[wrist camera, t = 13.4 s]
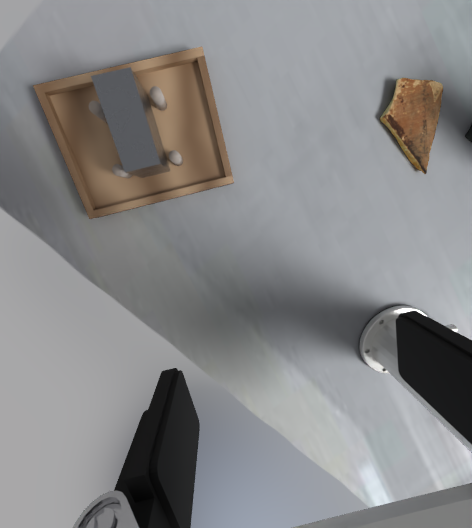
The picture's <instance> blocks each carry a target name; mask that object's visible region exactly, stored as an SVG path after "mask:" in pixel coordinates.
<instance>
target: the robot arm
mask: <svg viewBox="0 0 472 528" xmlns="http://www.w3.org/2000/svg"><path fill="white" fill-rule="evenodd" d="M457 332H458V329H457V328H456V326H454V325H452V324H450V325H447V326H444V325H442V324H440V323H438V322H436V321H434V320H432V319H431V318H429V317H428V316H427V315H426V314H425V313H423V312H422V311H420V310H418V309H416V308H414V307H411V306H395V307H391V308H388V309H386V310H384V311H382V312H381V313H379V314H378V315H376V316H375V317H374V318H373V319H372V320H371V321H370V322H369V323H368V324H367V326H366V327H365V329H364V331H363V333H362V336H361V338H360V344H359V345H360V353H361V356H362V358H363V360H364V361H365V362H366V363H367V364H368V366H370V367H371V368H372V369H374V370H376V371H378V372H381V373H390V374H391V375H392V376H393V377H394V378H395V379H396V380H397V381H398V382H399V383H400V384H401V385H402V386H403V387H404V388H406V389H407V390H408V391H409V392H410V393H411V394H412V395H413V396H414V397H415V398H416V399H417V400H418V401H419V402H420V403H421V404H422V405H423V406H424V407H425V408H426V409H427V410H428V411H429V412H430V413H431V414H432V415H433V416H434V417H436V418H437V419H438V420H439V421H440V422H441V423H442V424H443V425H444V426H445V427H446V428H447V429H448V430H449V431H450V432H451V433H452V434H453V435H454V436H455V437H456V438H457V439H458V440H459V441H460V442H461V443H462V444H463V445H464V446H466V448H467V449H468V450H469V451H470V452H471V453H472V340H470V339H468V338H466V337H464V336H462V335H460V334H459V333H457ZM198 440H199V420H198V416H197V413H196V410H195V408H194V405H193V402H192V399H191V396H190V393H189V390H188V387H187V385H186V381H185V378H184V375H183V373H182V371H178V370H177V369H176V368H173V369H169V370H165V371H162V373H161V375H160V378H159V381H158V384H157V386H156V389H155V392H154V395H153V398H152V401H151V404H150V406H149V409H148V410H146V411H145V412H144V413H143V415H142V417H141V420H140V422H139V425H138V428H137V431H136V433H135V436H134V439H133V441H132V444H131V447H130V450H129V452H128V455H127V458H126V460H125V463H124V465H123V468H122V471H121V474H120V476H119V479H118V481H117V484H116V487H115V490H114V491H110V492H107V493H105V494H103V495H101V496H100V497H98V498H97V499H96V500H94V501H93V502H92V503H91V504H90V505H89V506H88V507H87V508H86V509H85V510H84V511H83V513H82V514H81V515H80V517H79V518H78V520H77V521H76V523H75V525H74V526H73V528H190V526H191V514H192V504H193V493H194V483H195V471H196V461H197V449H198ZM293 528H472V483H470V484H466V485H461V486H457V487H453V488H449V489H445V490H441V491H437V492H433V493H429V494H424V495H420V496H416V497H412V498H408V499H404V500H400V501H396V502H392V503H388V504H384V505H380V506H376V507H372V508H368V509H364V510H360V511H356V512H352V513H348V514H344V515H340V516H336V517H332V518H328V519H324V520H320V521H317V522H313V523H309V524H305V525H301V526H297V527H293Z"/></svg>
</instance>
